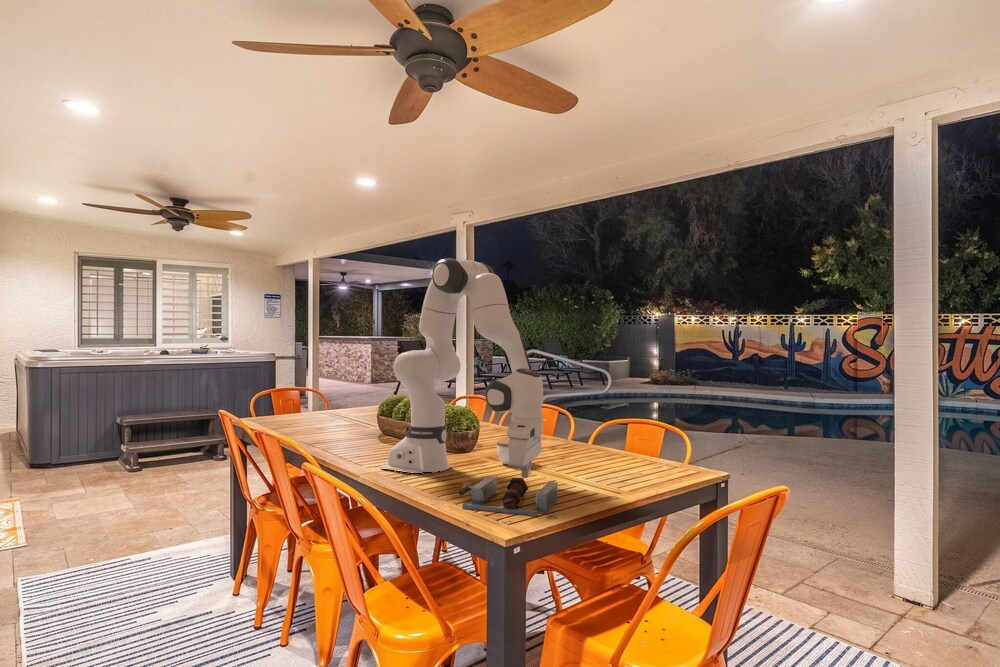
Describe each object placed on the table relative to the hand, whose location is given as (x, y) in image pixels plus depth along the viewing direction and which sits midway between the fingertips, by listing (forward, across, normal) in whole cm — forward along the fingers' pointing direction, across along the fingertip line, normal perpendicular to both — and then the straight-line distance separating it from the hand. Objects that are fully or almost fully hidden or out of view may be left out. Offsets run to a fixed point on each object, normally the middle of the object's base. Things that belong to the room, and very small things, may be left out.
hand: (526, 476), depth 158 cm
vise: (+4, +14, 0) cm, 14 cm away
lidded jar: (+5, -32, -14) cm, 35 cm away
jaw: (+4, +12, -10) cm, 16 cm away
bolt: (+4, +12, 0) cm, 13 cm away
